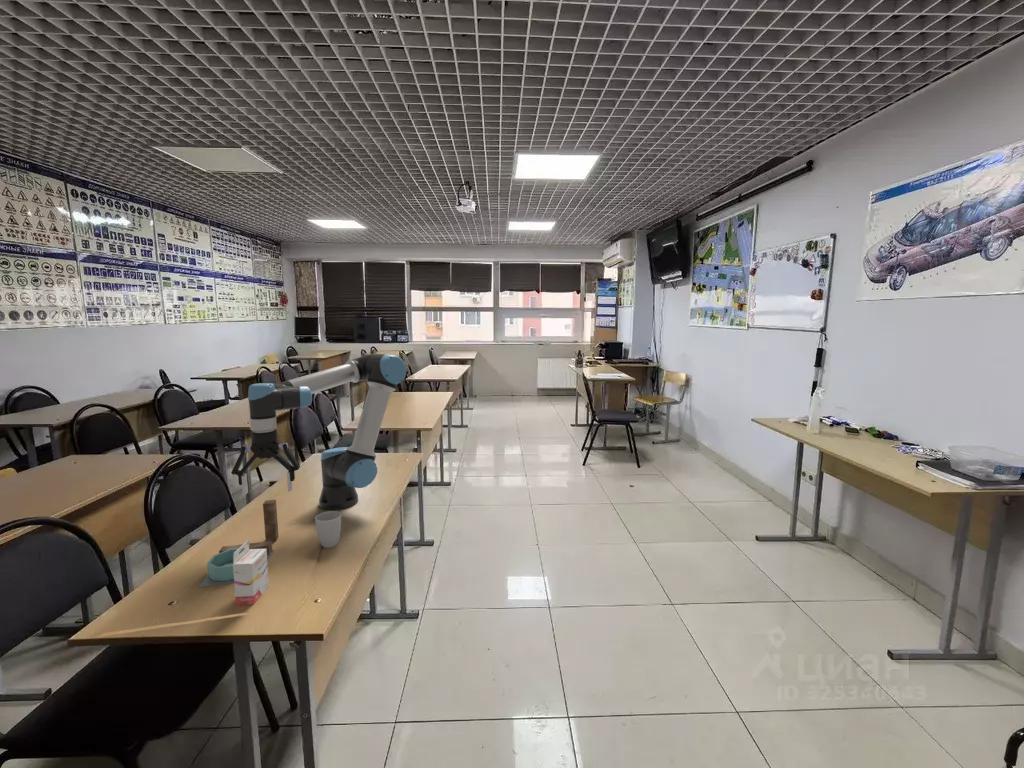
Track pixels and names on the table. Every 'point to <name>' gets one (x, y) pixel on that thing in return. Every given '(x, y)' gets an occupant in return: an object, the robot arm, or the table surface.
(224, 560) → the teal octagonal bowl
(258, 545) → the long wooden bar
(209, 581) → the slate board
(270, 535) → the brown wooden block
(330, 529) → the cup
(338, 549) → the table surface
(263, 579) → the ink cartridge box
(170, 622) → the table surface
